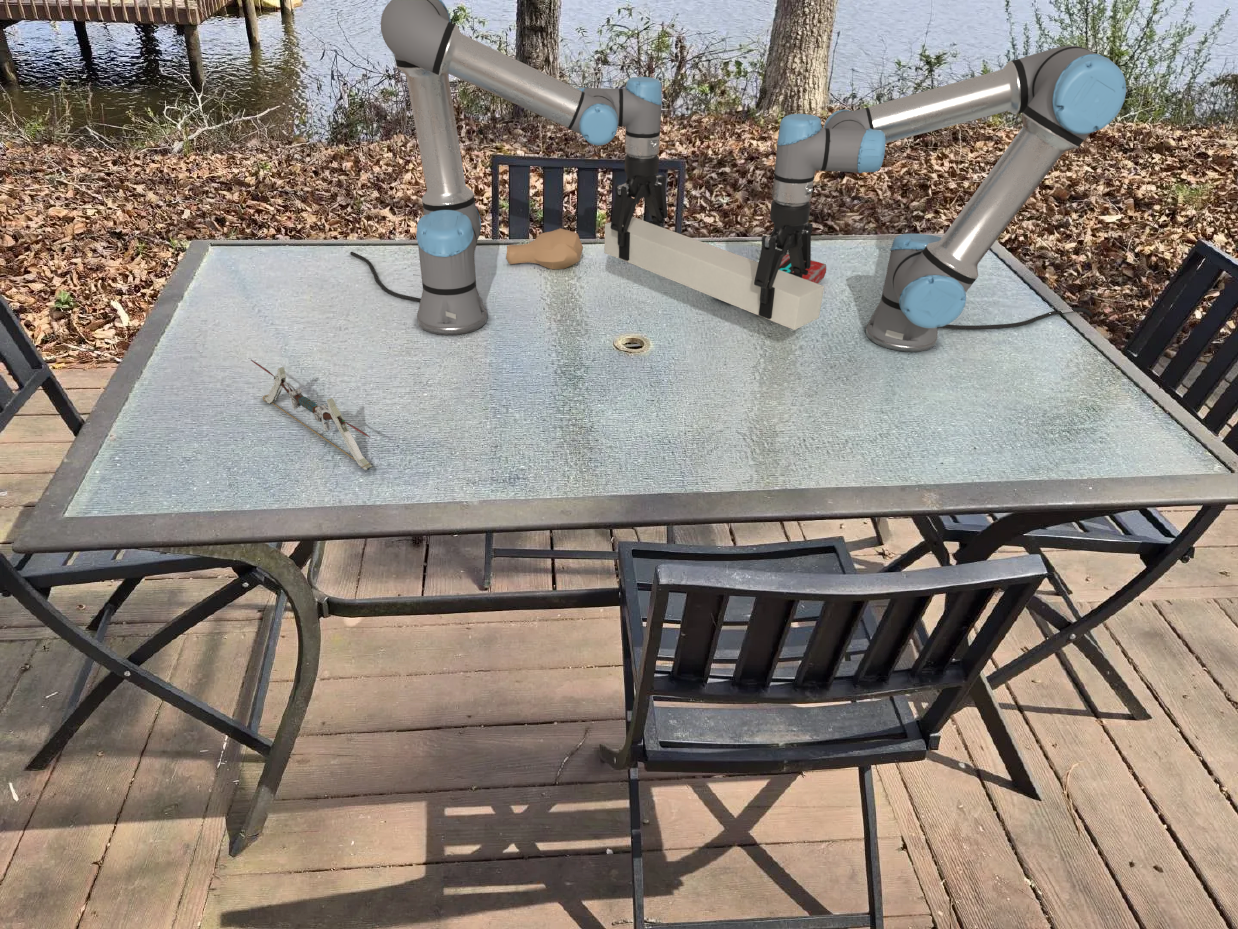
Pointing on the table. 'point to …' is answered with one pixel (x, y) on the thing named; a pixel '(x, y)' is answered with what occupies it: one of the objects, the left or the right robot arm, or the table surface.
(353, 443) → the bow
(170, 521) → the table surface
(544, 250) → the squash
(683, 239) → the wide beam
